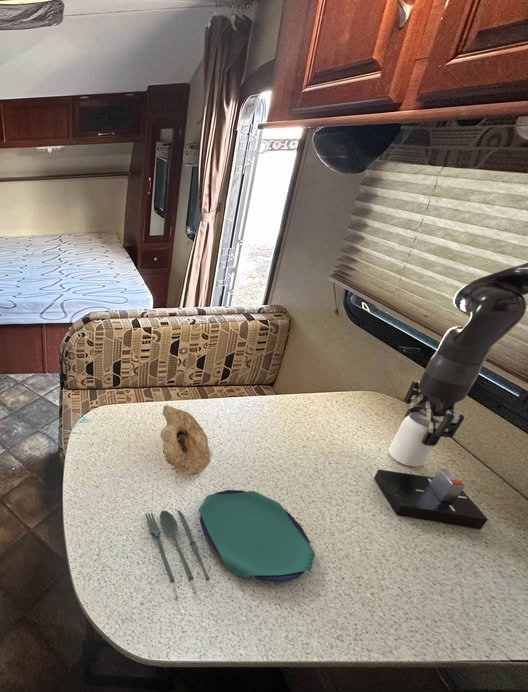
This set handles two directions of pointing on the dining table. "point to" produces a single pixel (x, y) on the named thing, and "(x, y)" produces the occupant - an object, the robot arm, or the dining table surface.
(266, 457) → the dining table surface
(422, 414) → the can
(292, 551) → the cutlery set
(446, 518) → the stove
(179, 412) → the brown hollow rock
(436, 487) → the stove knob
